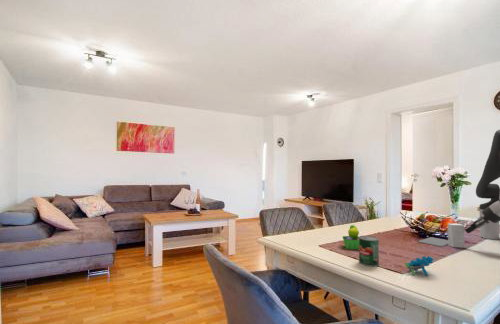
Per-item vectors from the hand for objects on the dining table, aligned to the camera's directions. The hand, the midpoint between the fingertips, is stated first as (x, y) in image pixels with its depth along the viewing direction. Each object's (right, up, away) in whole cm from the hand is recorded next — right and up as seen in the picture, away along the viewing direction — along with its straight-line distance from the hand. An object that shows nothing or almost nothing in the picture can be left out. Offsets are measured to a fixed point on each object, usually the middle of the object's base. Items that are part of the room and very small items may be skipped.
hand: (466, 231), depth 144 cm
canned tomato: (-62, -8, -25) cm, 68 cm away
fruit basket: (-60, -8, -1) cm, 60 cm away
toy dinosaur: (-47, -8, -35) cm, 59 cm away
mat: (-8, -9, +12) cm, 17 cm away
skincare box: (-3, -9, +4) cm, 10 cm away
